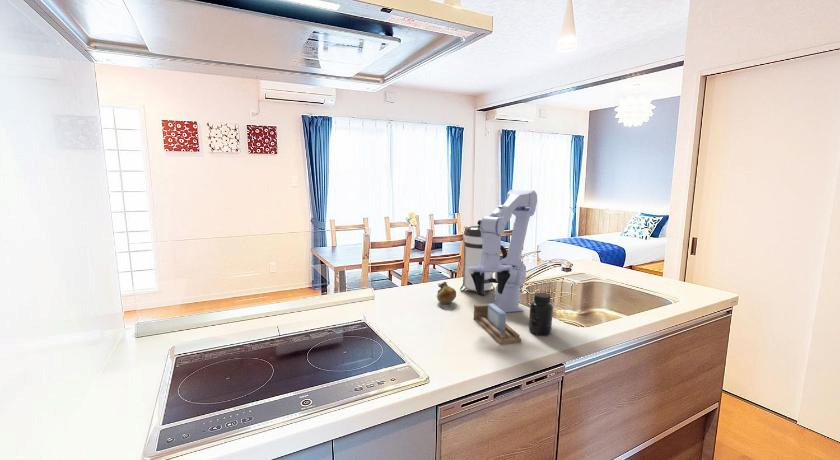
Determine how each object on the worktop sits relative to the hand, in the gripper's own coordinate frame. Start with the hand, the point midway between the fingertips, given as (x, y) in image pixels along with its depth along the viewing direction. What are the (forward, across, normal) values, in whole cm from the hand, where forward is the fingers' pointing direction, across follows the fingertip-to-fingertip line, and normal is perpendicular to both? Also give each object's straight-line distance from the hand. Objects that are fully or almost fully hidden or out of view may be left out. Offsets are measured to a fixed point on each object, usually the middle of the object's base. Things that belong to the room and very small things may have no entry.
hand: (489, 293), depth 126 cm
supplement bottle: (+10, +13, -10) cm, 19 cm away
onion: (+10, -8, +21) cm, 25 cm away
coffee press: (+10, +11, +33) cm, 36 cm away
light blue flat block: (+9, 0, -6) cm, 11 cm away
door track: (+10, 0, -6) cm, 12 cm away
